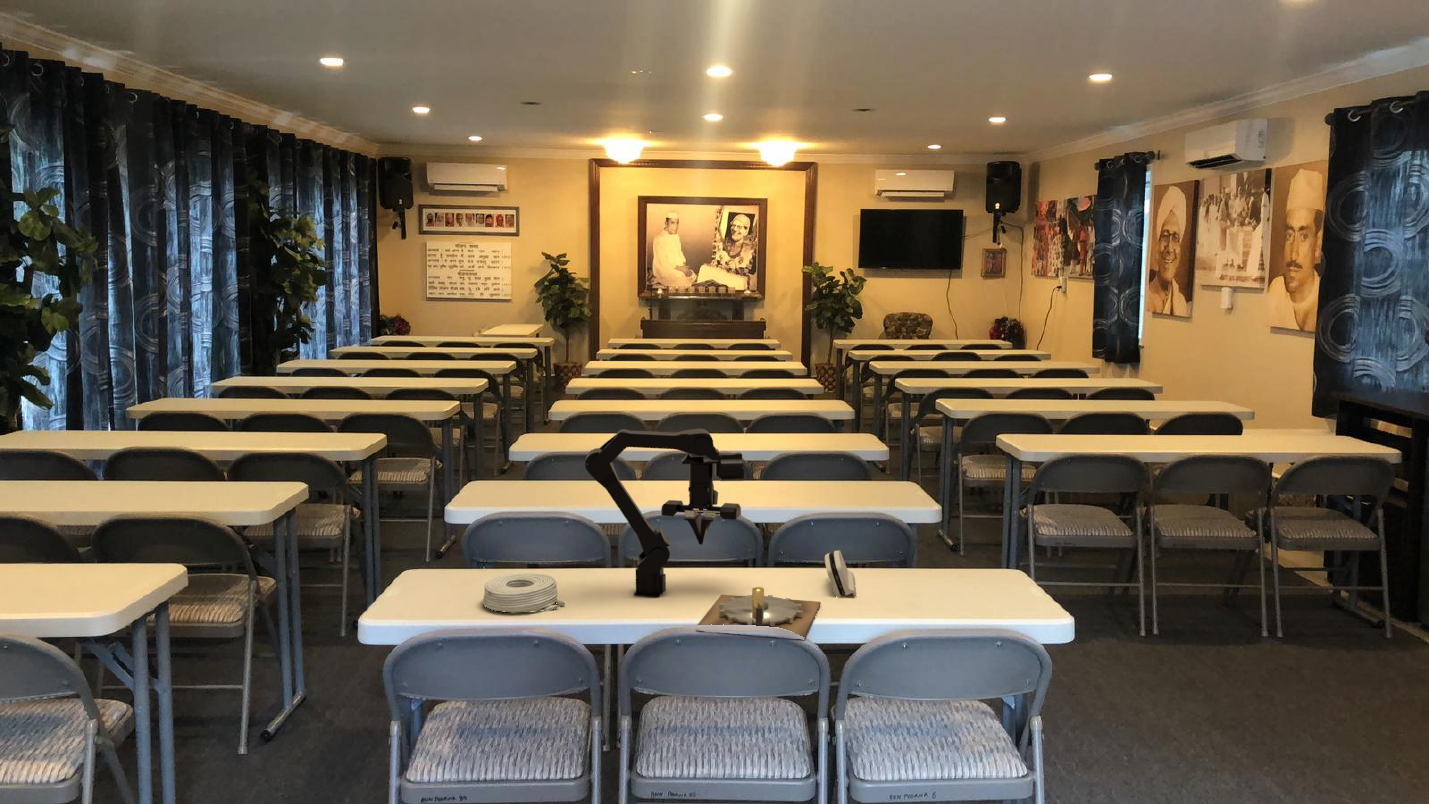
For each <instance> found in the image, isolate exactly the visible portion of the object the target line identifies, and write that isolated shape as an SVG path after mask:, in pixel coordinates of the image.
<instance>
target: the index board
mask: <svg viewBox="0 0 1429 804" xmlns="http://www.w3.org/2000/svg"><path fill="white" fill-rule="evenodd" d="M742 597H747V595H746V596H744V595H735V594H734V595H733V594H720V596H719V597H718V598H717V600H716V601H715V602H714V603H713V605H712V606H711V607H710V608H709V610H708V611H706V613H705V615H704V616H703V618H702V619H701V620H700V621H699V622H698V623H697V625H711V624H712V625H723V624H724V625H747V624H743V623H738V622H733V623H731V622H728V618H726V617H725V616H721V617H720V616H719V604H720V603H724V604H725V603H727V602H728V601H729V599H730V598H735V599H737V598H742ZM791 602H793V603H795V604H801V605H802V610H800V611H802V617H796V618H795V619H793V623H788V622H785V623H781V624H775V626H772V627H779V628H783V629H786V630H789V631H792V632H794V633H795V634H798V635H800V636H803V637H805V639H806V638H807V636H808V633H809V631H810V629H811V627H812V625H813V623H814V621H813V620H815V619H816V617H817V615H818V612H819V610H820V608H821V606H820V605H822V603H821V602H822V601H815V600H814V601H813V600H803V599H802V600H801V599H791ZM817 611H818V612H817ZM816 614H817V615H816ZM815 616H816V617H815ZM756 626H769V625H762V607H761V605H758V607H757V608H756ZM769 627H770V626H769Z"/></svg>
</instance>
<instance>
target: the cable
mask: <svg viewBox="0 0 1429 804" xmlns="http://www.w3.org/2000/svg"><path fill="white" fill-rule="evenodd" d="M557 583H558V582H557V581H556V579H555V577H553V576H552V575H549V574H544V573H537V572H535V573H534V572H522V573H521V572H520V573H509V574H504V575H500V576H496V577H494V578H492V579H490V580H488V581H486V582H485V584H484V595H483V599H482V605H483V604H484V606H486V607H487V608H486V607H485V608H486V609H488V608H489V609H488V610H490V609H491V611H493V610H495V611H494V612H496V611H505V612H529V613H531V612H530V611H540V612H542V611H541V610H550V611H554V610H557V609H558V608H560V607H561V606H563V607H564V606H565V604H566V602H564V601H563V600H558V596H559V595H558V594H559V592H558V588H557ZM555 602H556V603H557V604H558V605H556V604H555ZM559 605H560V606H559ZM553 609H554V610H553Z"/></svg>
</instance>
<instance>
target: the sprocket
mask: <svg viewBox="0 0 1429 804" xmlns="http://www.w3.org/2000/svg"><path fill="white" fill-rule="evenodd" d="M751 590H752V591H751V592H752V593H751V594H748V595H746V596H747V597H742V598H737V599H735V598H730V599H729V601H728V602H727V603H725V604H724V603H720V604H719V616H720V617H721V616H725V617H726V618H728V622H731V623H733V622H738V623H743V624H747V625H756V608H757V607H758V605H761V607H762V625H769V626H770V627H772V626H775V624H781V623H785V622H788V623H793V619H795V618H796V617H802V611H800V610H802V605H801V604H795V603H793V602H791V600H792V599H791V598H788V597H786V598H783V597H782V598H781V597H776V596H774V595H772V594H768V595H765V588H763V587H761V586H760V587H759V586H756V587H753V588H751Z"/></svg>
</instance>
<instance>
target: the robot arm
mask: <svg viewBox="0 0 1429 804" xmlns="http://www.w3.org/2000/svg"><path fill="white" fill-rule="evenodd" d="M627 448H637V449H638V448H641V449H645V448H646V449H662V450H664V449H665V450H677V451H680V452H683V453H686V455H685V456H684V457H683V458H681V464H682V465H689V466H688V474H689V475H688V479H689V481H688V482H689V483H688V489H687V490H688V492H689V494H688V497H689V498H688V501H689V503H688V504H684V502H683V500H678V499H677V500H676V499H675V500H674V499H673V500H672V499H668V500H667V501H666V502H665V503H663V504H662V505H661V508H660V509H661V513H660V515H661V516H663V517H664V516H665V517H674V516H675V515H676V514H678V513H684V517H683V520H684V521H687V522H688V524H689V525H690V527H691V529H692V530H693V533H694V535H695V538H696V540H697V542H698V545H700V546H701V545H704V543H705V540H706V537H707V533H708V530H709V528H710V526H711V523H713V522H714V521H716V519H717V518H718V517H719V516H720V517H721V518H722V519H723V520H731V521H733V520H737V519H738V518H739V517H740V516H741V515H742V507H741V505H740V504H739V503H736V502H735V503H733V502H725V503H723V504H722V505H721V506H718V499H719V492H718V491H717V490H716V489H715V485H714V480H713V479H714V477H716V478H718V479H719V481H720V482H735V481H736V482H743V481H744V479H745V467H744V463H743V462H744V459H743V453H742V452H734V453H720V452H719V449H718V448H716V447H715V446H714V440H713V437H712V434H710V432H709V431H708V430H707V429H705V428H695V429H694V428H693V429H686V430H681V431H676V432H675V431H674V432H669V431H650V430H648V431H647V430H629V429H623V428H622V429H620V430H618V431H617V432H616V434H614V435H613V437H611V438H609V440H607V441H606V442H604V444H602V445H601V446H600V447H597V448H594V449H591V450H589V452H588V453H587V455H586V459H585V461H584V462H585V463H584V467H585V470H586V471H587V473H588V474H589V475H590V476H591V477H592V478H593V479H594V481H596V482H597V483H598V484H600V485H601V486H602V487H603V488H604V489H605V490H606V491H607V493H608V494H609V496H610V497H611V499H612V500H613V502H614V503H615V504H616V507H618V509H619V510H620V512H621V513H622V515H623V516H624V518H625V520H626V521H627V523H628V524H629V525H630V527H631V528H632V530H633V531H634V533H635V534H636V537H637V538H638V541H639V543H640V546H641V549H642V551H641V552H640V553H639V554H637V567H636V568H635V591H634V592H633V596H635V597H636V596H637V597H647V598H648V597H649V598H650V597H651V598H660V597H661V595H662V594H664V593H665V592H666V590H667V577H666V576H667V575H666V574H665V572H664V571H665V570H664V567H663V565H665V564H666V563H667V562H668V561H669V559H670V555H671V551H670V539H669V537H667V536H666V535H665V533H664V532H663V529H662V528H661V526H659V525H658V527H657V528H656V529H655V528H654V527H653V526H652V525H651V524H650V523H649V522H648V520H647V518H646V517H645V516H644V514H643V513H642V511H641V510H640V508H639V507H638V505H637V504H636V502H635V501H634V499H633V498H632V496H631V495H630V493H629V492H628V491H627V489H626V487H625V485H624V484H623V483H622V482H621V480H620V478H619V476H618V474H617V471H616V469H615V466H614V463H613V461H614V460H616V459H617V458H618V457H619V455H621V453H622V452H623V451H624V450H626V449H627ZM692 455H693V456H692ZM704 456H705V457H706V458H705V457H704ZM713 468H714V469H713ZM713 470H714V472H713ZM713 474H714V475H715V476H714V475H713ZM713 476H714V477H713ZM716 505H717V506H716ZM702 514H703V517H702Z"/></svg>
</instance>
